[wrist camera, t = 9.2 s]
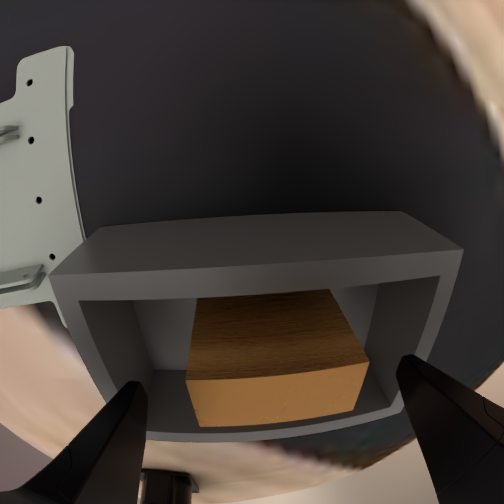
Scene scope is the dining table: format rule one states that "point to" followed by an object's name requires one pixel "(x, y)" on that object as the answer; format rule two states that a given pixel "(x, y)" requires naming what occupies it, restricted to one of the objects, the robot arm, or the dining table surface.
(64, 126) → the metal bracket
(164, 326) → the open box
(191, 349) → the wood grain brick
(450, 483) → the robot arm
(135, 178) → the dining table surface
